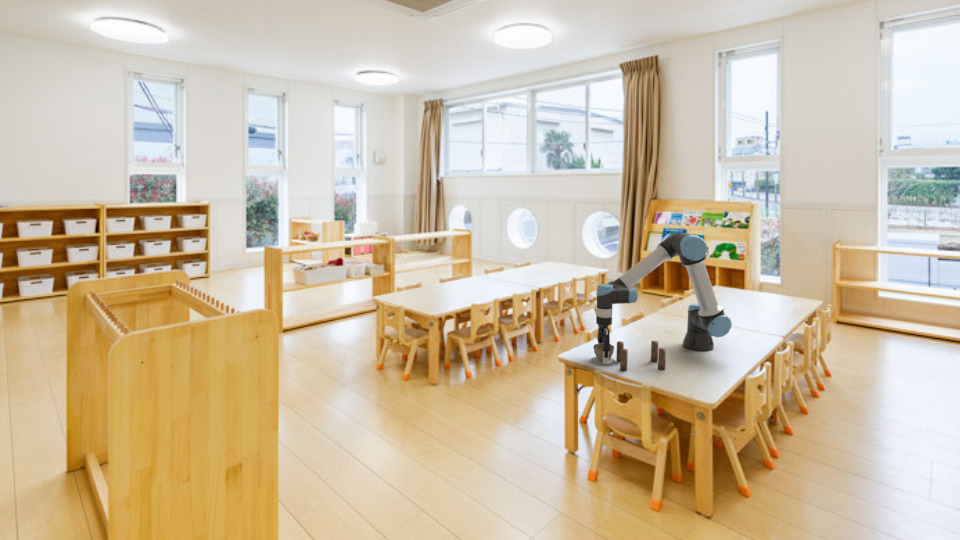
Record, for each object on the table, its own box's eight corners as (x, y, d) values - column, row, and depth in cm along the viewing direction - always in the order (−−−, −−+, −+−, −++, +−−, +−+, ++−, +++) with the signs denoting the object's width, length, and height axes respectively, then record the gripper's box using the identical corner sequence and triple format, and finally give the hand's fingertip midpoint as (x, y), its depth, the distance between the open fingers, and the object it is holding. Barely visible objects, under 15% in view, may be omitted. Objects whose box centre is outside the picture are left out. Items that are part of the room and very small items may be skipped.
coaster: (612, 357, 263) (612, 356, 263) (618, 365, 252) (618, 364, 252) (588, 357, 264) (588, 356, 264) (593, 365, 252) (593, 365, 252)
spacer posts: (656, 359, 258) (657, 340, 257) (666, 370, 244) (667, 350, 242) (613, 360, 259) (613, 341, 257) (620, 371, 244) (621, 350, 242)
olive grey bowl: (598, 355, 265) (599, 341, 263) (617, 359, 258) (617, 345, 257) (589, 361, 257) (589, 347, 256) (608, 365, 251) (608, 351, 249)
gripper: (591, 310, 265) (591, 352, 269) (601, 322, 243) (600, 368, 247) (606, 310, 265) (605, 352, 269) (617, 322, 242) (616, 367, 246)
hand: (603, 359), depth 258 cm, fingers closed on olive grey bowl, 10 cm apart
